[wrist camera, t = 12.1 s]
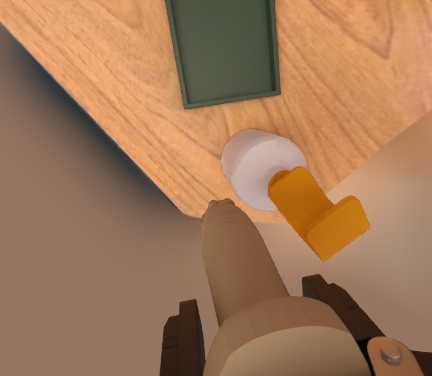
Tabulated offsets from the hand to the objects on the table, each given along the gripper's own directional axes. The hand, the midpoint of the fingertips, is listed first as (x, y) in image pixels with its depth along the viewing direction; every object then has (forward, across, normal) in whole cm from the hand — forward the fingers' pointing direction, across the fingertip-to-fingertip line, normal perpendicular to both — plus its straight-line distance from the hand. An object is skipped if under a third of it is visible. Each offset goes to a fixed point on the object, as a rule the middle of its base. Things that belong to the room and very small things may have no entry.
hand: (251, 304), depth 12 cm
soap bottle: (+29, -7, 0) cm, 30 cm away
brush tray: (+29, -5, -17) cm, 34 cm away
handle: (+11, 0, 0) cm, 11 cm away
